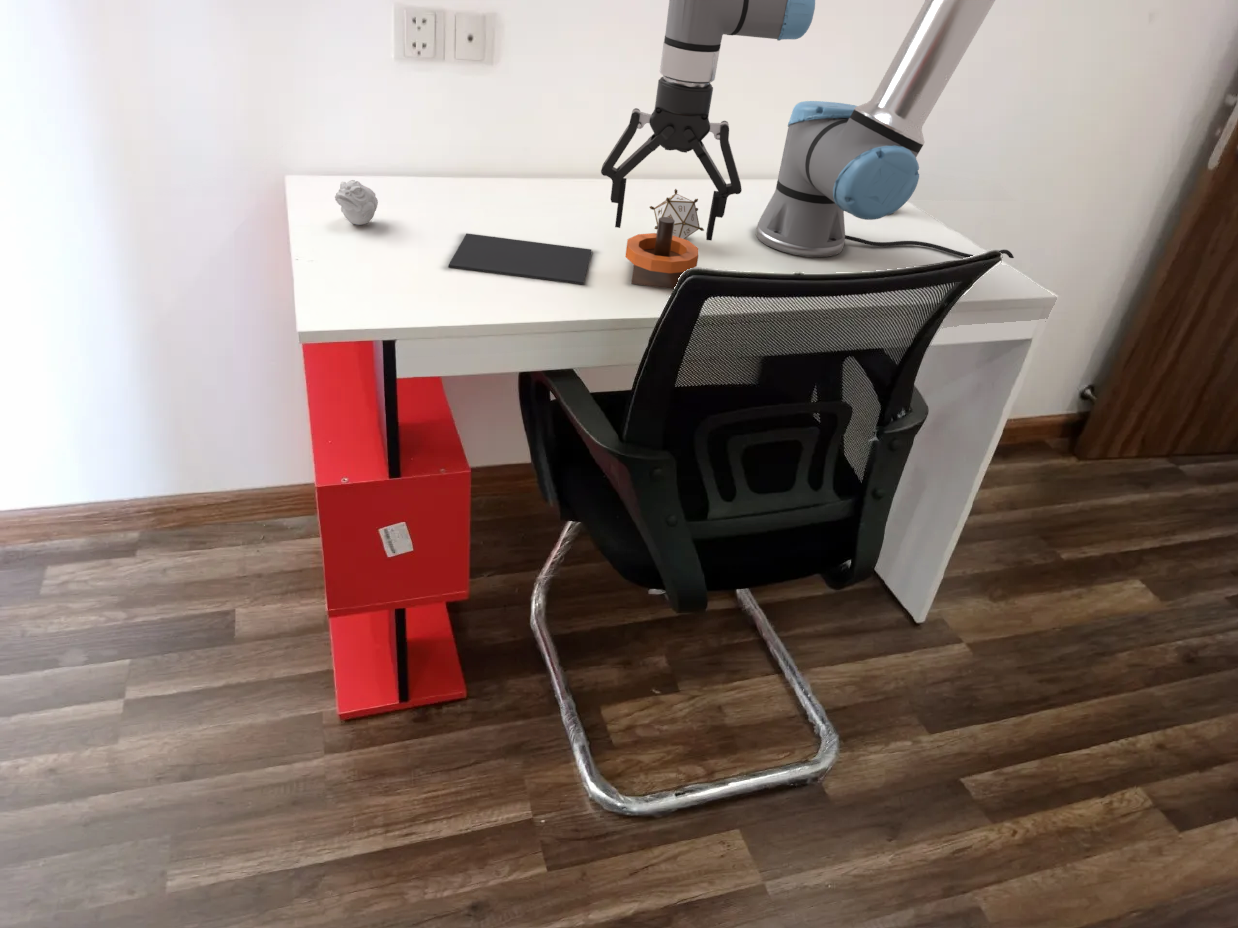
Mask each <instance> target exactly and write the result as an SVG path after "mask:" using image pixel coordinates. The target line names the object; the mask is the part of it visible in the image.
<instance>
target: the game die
mask: <svg viewBox="0 0 1238 928" xmlns="http://www.w3.org/2000/svg"><path fill="white" fill-rule="evenodd" d="M698 201H699V198H694V200H692V199H690V198H687V197H684V196H683V195H680V194H678V189H677V188H675V189H674V194H673V195H671V196H669V197H666V199H665V200H664V201H662V202H661V203H659V204H658V205H657V206H653V205H650V206H649V209H650V210H653V213H654V217H655V221H656V225H655V227H654V230H657V227H658V220H659V218H661V217H668V218H672V219H674V220H675V223H674V230H673V236H676V237H679V238H682V239H685V240H686V239H687V238H688V237H689V236H691V235H693V234H695V232H697V231H698V230H699V231H701V232H704V231H705V229H704V227H702V226H700V222H699V217H698V216H699V215H698V211H699V207H696V203H697V202H698Z"/></svg>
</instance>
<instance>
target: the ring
mask: <svg viewBox="0 0 1238 928" xmlns="http://www.w3.org/2000/svg"><path fill="white" fill-rule="evenodd" d="M656 235H657V232H651V233H639V234H636V235H634V236H632V237H629V238H628V239H627V242H626V248H625V258H626V259H627V260H628V261H629V262H631V264H633V266H634V265H636V266H639V267H641V268H644V269H647V270H650V271H656V272H664V273H678V272H684V271H686V270H687V269H690V268H693V269H694V268H696V267H697V266H698V261H699V247H698V246H697V245H695V244H694V243H693V242H691V241H690V240H688V239H686V238H685V239H682V238H679V237H676V236H673V237H672V243H671V250H670V251H672V252H675V253H678V254H680V255H681V256H674V257H665V256H657V255H654V254H651V253H648V252H645V251H644V249H655V242H656Z"/></svg>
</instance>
